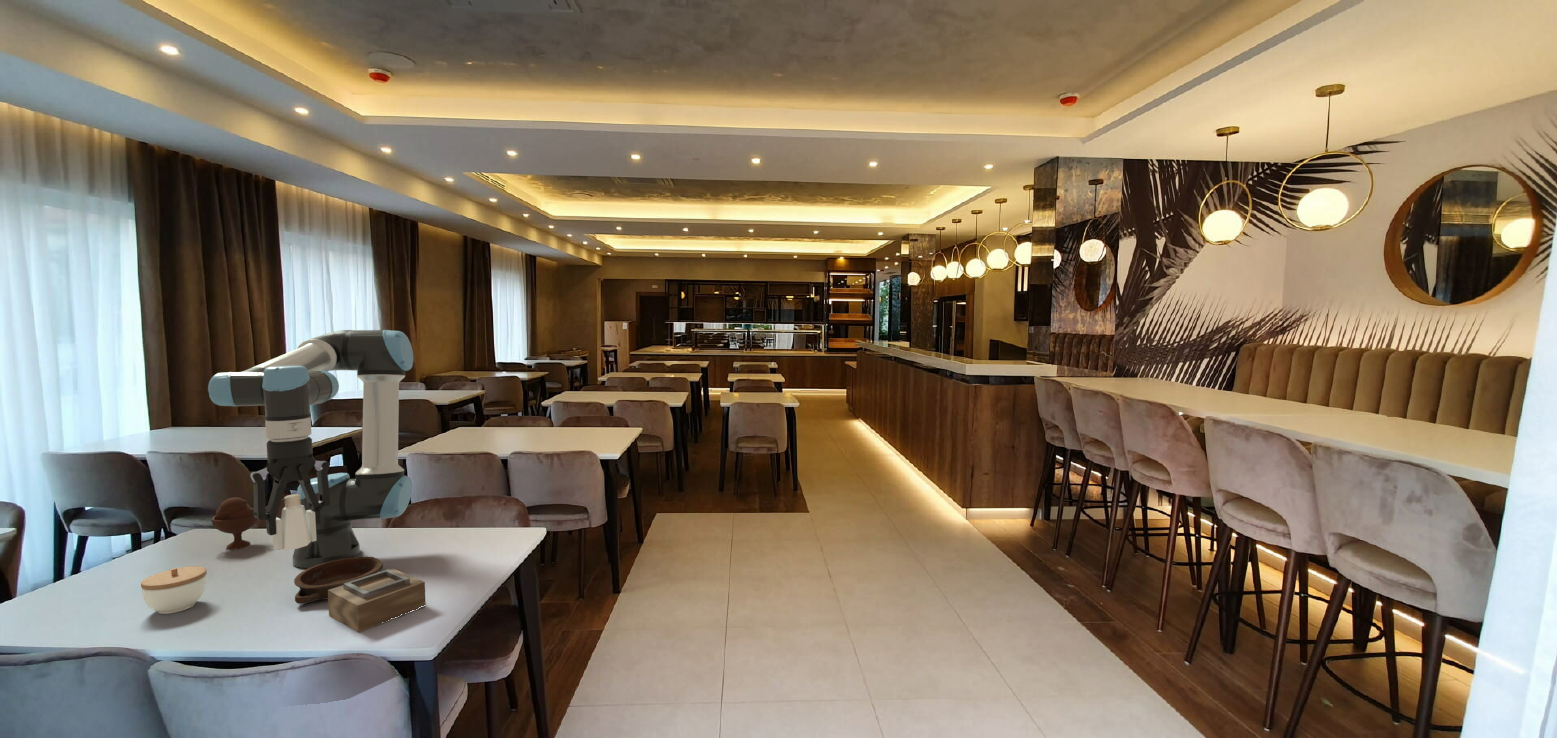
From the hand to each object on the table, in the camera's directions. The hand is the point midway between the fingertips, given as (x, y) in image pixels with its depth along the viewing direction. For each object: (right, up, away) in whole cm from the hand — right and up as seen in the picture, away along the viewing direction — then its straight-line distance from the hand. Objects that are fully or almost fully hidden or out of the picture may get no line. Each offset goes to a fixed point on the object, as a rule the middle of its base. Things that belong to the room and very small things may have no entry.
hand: (295, 543), depth 129 cm
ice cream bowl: (-56, -15, +48) cm, 75 cm away
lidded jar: (-36, -18, +10) cm, 41 cm away
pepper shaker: (0, -1, 0) cm, 0 cm away
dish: (-5, -18, +21) cm, 28 cm away
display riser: (+12, -18, +9) cm, 24 cm away
